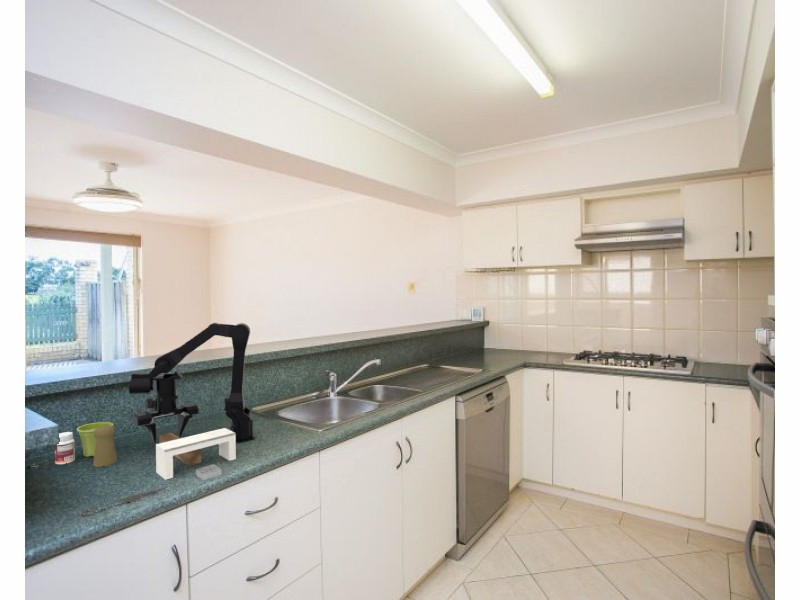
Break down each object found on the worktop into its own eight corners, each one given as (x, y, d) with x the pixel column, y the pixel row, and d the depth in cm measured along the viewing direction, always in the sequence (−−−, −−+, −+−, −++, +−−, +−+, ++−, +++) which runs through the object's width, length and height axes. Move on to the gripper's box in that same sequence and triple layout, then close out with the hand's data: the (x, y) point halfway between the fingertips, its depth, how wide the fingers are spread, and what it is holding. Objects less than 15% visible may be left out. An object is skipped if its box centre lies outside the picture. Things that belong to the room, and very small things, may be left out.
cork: (113, 457, 136) (112, 422, 136) (120, 462, 132) (119, 425, 132) (90, 463, 131) (89, 426, 131) (97, 468, 128) (96, 430, 127)
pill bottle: (58, 459, 134) (57, 432, 134) (77, 457, 136) (76, 430, 136) (52, 465, 130) (51, 437, 130) (71, 463, 131) (71, 435, 131)
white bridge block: (225, 453, 139) (224, 427, 139) (235, 458, 135) (235, 432, 134) (156, 472, 125) (155, 444, 125) (165, 479, 120) (164, 450, 120)
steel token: (213, 471, 127) (213, 464, 127) (221, 476, 123) (221, 468, 123) (195, 476, 123) (195, 469, 123) (203, 481, 120) (203, 474, 120)
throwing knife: (79, 513, 103) (79, 510, 103) (170, 485, 118) (170, 482, 118) (84, 520, 100) (83, 517, 100) (176, 490, 115) (176, 487, 115)
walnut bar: (170, 444, 148) (170, 432, 148) (201, 463, 132) (201, 450, 132) (159, 447, 146) (159, 434, 146) (189, 467, 130) (188, 453, 129)
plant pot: (104, 446, 146) (103, 420, 146) (119, 451, 141) (119, 424, 141) (71, 455, 138) (71, 427, 138) (86, 461, 133) (86, 433, 133)
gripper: (186, 384, 158) (186, 427, 158) (126, 393, 144) (127, 440, 145) (199, 389, 150) (199, 434, 151) (137, 399, 137) (138, 449, 137)
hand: (167, 439), depth 146 cm, fingers open, 7 cm apart
